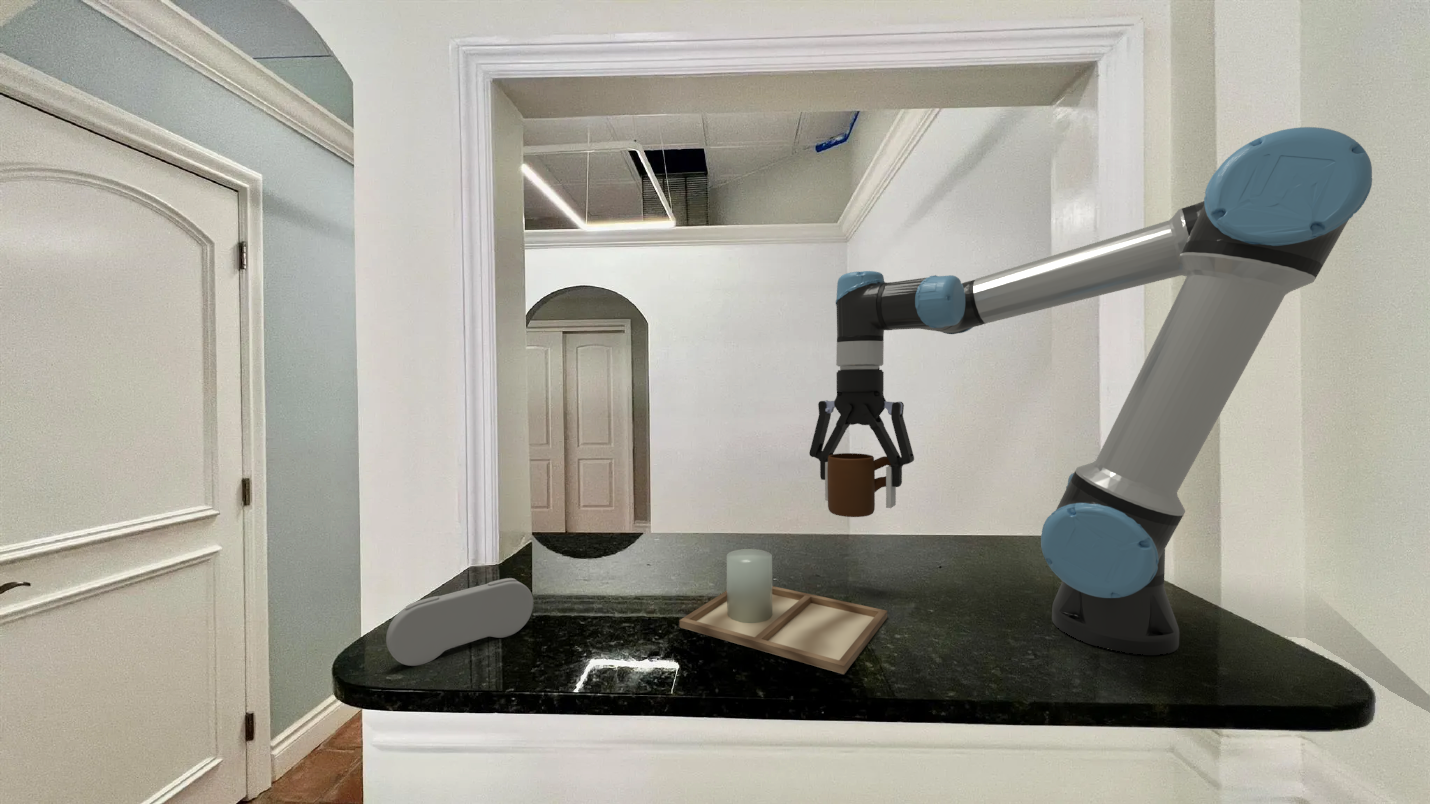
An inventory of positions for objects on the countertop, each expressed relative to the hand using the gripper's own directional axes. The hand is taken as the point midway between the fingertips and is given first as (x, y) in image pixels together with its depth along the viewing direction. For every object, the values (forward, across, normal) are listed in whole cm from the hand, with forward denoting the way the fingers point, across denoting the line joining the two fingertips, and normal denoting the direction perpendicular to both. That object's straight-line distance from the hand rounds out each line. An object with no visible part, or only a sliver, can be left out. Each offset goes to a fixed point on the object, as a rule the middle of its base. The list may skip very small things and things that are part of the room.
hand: (859, 502), depth 93 cm
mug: (+2, -1, 0) cm, 2 cm away
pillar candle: (+15, +12, +17) cm, 26 cm away
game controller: (+17, +42, +45) cm, 64 cm away
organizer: (+17, +6, +16) cm, 24 cm away
